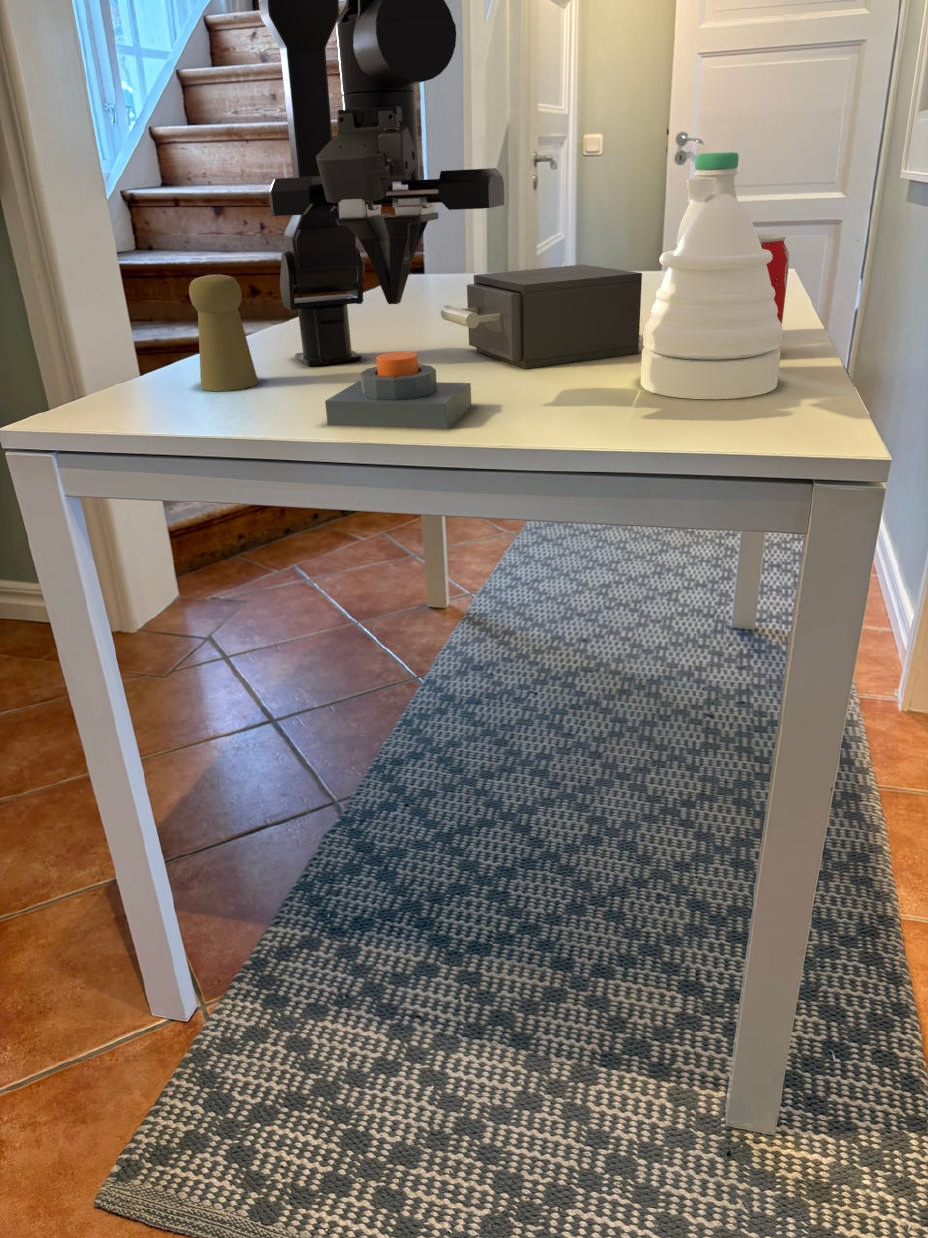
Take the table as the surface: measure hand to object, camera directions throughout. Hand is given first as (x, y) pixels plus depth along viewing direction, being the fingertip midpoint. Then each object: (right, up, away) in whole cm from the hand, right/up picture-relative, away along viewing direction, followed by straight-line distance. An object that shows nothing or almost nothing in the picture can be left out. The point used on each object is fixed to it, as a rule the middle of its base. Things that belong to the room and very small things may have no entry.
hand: (394, 303), depth 77 cm
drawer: (+13, +4, +26) cm, 29 cm away
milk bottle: (+35, +6, +30) cm, 47 cm away
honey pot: (+30, -4, +10) cm, 32 cm away
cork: (-19, -2, +19) cm, 27 cm away
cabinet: (+17, +4, +27) cm, 32 cm away
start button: (0, -6, +2) cm, 6 cm away
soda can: (+37, +2, +22) cm, 43 cm away
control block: (0, -9, +4) cm, 10 cm away
